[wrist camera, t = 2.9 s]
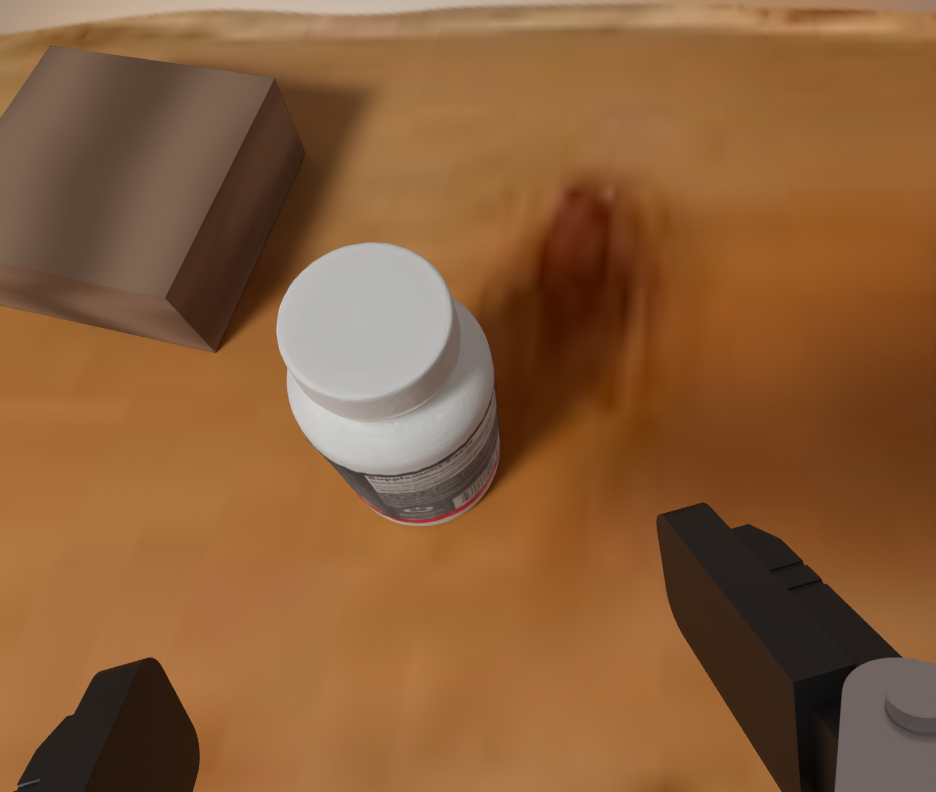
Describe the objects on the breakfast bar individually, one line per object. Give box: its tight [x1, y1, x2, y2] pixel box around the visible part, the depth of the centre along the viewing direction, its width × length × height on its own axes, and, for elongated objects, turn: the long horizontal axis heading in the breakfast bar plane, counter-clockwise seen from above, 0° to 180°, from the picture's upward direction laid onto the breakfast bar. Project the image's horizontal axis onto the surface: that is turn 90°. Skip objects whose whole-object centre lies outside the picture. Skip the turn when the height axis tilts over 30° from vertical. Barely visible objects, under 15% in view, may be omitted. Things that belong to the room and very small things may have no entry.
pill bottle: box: [277, 242, 500, 526], centre depth 19 cm, size 5×5×10 cm
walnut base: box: [0, 46, 305, 353], centre depth 27 cm, size 10×10×4 cm
